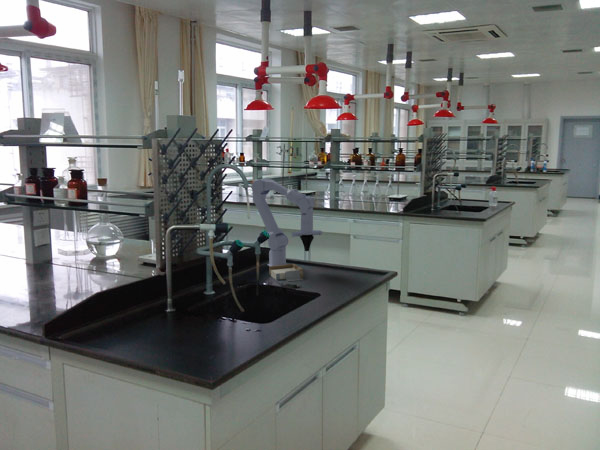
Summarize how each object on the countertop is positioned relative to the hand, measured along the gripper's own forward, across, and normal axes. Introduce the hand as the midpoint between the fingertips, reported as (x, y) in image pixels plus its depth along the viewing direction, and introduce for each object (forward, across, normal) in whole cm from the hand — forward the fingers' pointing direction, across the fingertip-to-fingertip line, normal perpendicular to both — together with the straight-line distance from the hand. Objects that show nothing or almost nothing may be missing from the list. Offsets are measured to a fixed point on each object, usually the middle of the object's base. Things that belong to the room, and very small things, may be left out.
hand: (306, 250), depth 245 cm
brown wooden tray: (+9, -13, -6) cm, 17 cm away
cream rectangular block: (+10, -14, -7) cm, 18 cm away
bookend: (+9, -12, -13) cm, 20 cm away
